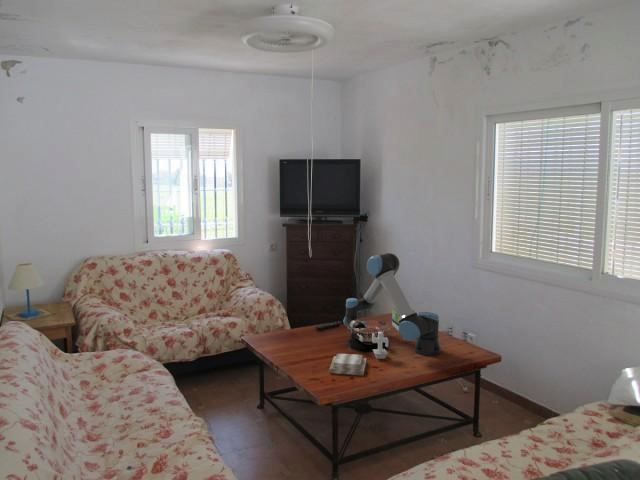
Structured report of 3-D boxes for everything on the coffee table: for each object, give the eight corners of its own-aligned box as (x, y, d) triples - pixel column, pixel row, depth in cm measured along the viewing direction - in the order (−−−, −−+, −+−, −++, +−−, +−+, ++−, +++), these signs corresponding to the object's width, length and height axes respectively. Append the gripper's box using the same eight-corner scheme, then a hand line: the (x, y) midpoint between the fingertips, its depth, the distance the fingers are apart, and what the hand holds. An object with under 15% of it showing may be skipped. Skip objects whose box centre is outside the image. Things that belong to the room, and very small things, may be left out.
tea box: (391, 326, 351) (391, 305, 349) (405, 325, 354) (405, 304, 352) (400, 333, 337) (400, 311, 335) (414, 331, 339) (414, 310, 337)
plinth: (366, 362, 286) (366, 353, 286) (363, 375, 269) (363, 366, 268) (334, 360, 289) (334, 351, 289) (329, 373, 272) (329, 363, 271)
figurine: (389, 359, 291) (390, 333, 289) (373, 360, 290) (373, 334, 288) (386, 354, 298) (387, 329, 296) (370, 355, 297) (370, 330, 295)
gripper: (375, 331, 326) (391, 341, 306) (339, 335, 318) (353, 346, 298) (376, 319, 325) (391, 329, 305) (339, 323, 316) (353, 334, 297)
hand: (372, 337), depth 301 cm, fingers open, 13 cm apart
